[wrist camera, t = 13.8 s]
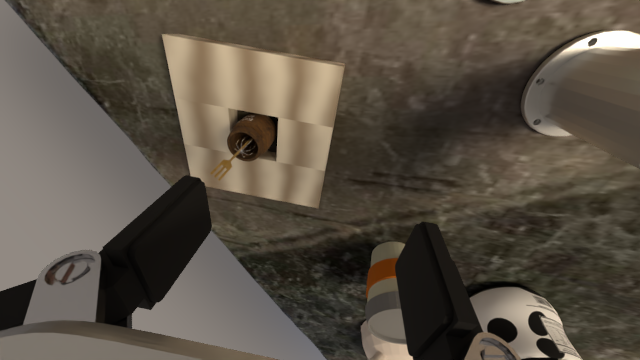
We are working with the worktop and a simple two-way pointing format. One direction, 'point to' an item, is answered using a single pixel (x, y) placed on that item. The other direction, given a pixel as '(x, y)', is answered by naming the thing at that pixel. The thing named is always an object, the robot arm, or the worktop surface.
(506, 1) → the salad plate
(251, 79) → the socket board
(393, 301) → the reusable coffee cup
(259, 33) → the worktop surface
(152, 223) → the robot arm
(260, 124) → the utensil holder
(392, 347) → the kettle
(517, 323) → the milk container
